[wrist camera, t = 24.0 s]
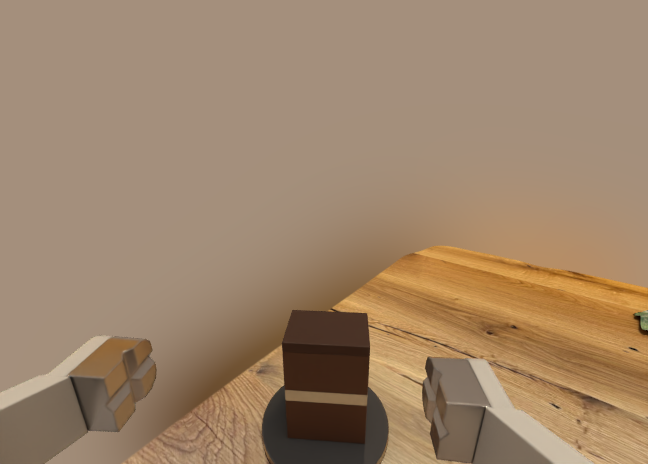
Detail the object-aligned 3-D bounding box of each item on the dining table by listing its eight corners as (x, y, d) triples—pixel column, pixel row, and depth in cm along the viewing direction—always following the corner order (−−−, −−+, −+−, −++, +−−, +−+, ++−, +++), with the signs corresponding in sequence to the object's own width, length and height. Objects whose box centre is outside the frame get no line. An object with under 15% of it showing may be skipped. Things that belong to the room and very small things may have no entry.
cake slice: (364, 444, 24) (370, 347, 21) (287, 438, 24) (281, 342, 21) (363, 400, 27) (367, 313, 24) (296, 395, 28) (292, 309, 25)
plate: (343, 532, 19) (342, 524, 19) (235, 437, 25) (234, 429, 25) (408, 413, 27) (409, 406, 27) (314, 362, 33) (314, 356, 33)
